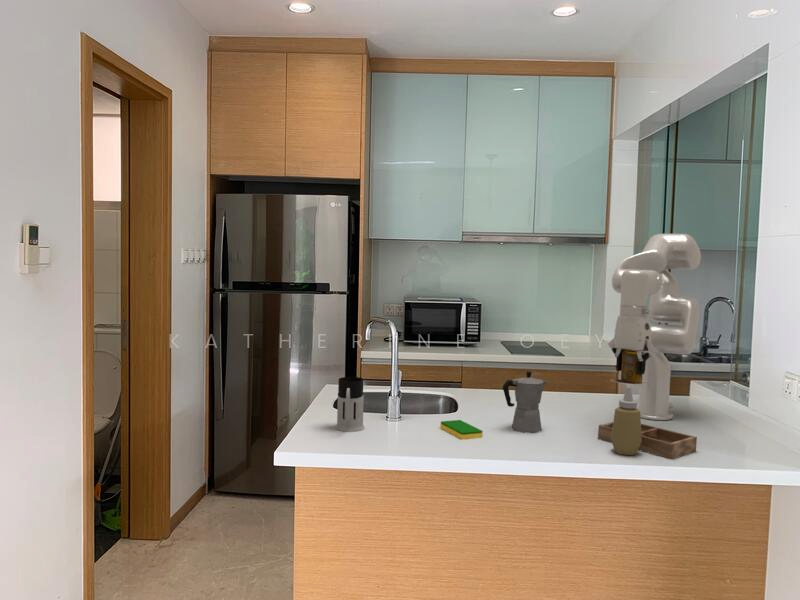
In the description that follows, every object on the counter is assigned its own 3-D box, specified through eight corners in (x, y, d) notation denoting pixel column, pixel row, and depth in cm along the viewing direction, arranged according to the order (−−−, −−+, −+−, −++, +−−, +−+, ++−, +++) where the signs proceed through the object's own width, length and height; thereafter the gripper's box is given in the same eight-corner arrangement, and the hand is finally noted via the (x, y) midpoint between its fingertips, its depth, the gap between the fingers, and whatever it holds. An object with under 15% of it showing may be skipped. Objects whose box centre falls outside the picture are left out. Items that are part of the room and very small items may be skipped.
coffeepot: (536, 423, 207) (539, 368, 206) (553, 431, 198) (555, 373, 197) (494, 427, 202) (496, 369, 200) (509, 435, 193) (511, 375, 192)
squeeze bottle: (605, 448, 182) (608, 384, 180) (633, 448, 182) (636, 385, 181) (617, 457, 174) (620, 390, 172) (646, 457, 174) (649, 391, 173)
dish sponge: (461, 440, 187) (461, 432, 187) (439, 428, 200) (440, 421, 199) (482, 438, 190) (483, 430, 190) (460, 427, 202) (460, 419, 202)
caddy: (623, 432, 199) (623, 419, 199) (696, 451, 181) (696, 437, 181) (597, 438, 191) (598, 425, 191) (671, 459, 173) (672, 444, 173)
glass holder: (365, 424, 201) (366, 376, 200) (361, 437, 187) (362, 386, 186) (337, 423, 201) (338, 376, 200) (331, 436, 187) (332, 385, 186)
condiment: (648, 383, 192) (650, 343, 191) (629, 385, 187) (631, 344, 187) (628, 379, 198) (630, 340, 197) (609, 381, 194) (611, 341, 193)
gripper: (667, 314, 186) (664, 376, 187) (616, 309, 200) (613, 367, 201) (652, 314, 182) (648, 378, 183) (600, 310, 196) (598, 369, 197)
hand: (630, 371), depth 192 cm, fingers closed on condiment, 6 cm apart
